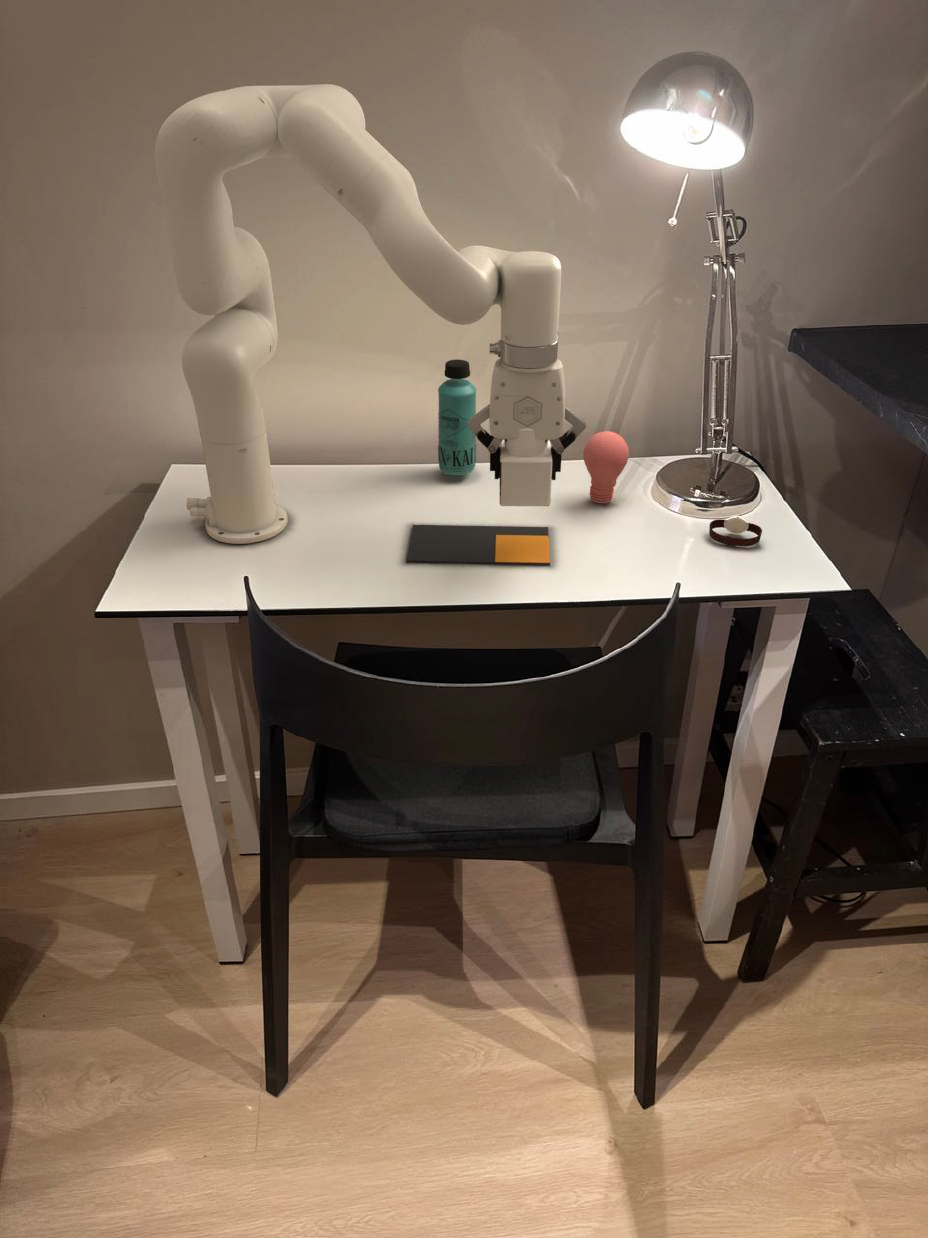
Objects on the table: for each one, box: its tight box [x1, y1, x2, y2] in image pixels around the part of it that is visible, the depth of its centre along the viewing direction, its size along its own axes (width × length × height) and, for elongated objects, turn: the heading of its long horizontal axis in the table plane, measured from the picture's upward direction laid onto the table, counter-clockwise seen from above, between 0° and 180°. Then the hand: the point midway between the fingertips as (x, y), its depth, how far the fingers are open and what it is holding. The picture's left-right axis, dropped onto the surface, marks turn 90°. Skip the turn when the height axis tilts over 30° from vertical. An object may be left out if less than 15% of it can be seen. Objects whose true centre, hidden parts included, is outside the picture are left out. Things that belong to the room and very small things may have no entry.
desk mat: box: [405, 524, 551, 566], centre depth 144 cm, size 21×11×1 cm, turn 87°
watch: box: [708, 515, 763, 548], centre depth 144 cm, size 8×5×4 cm, turn 72°
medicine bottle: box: [499, 428, 553, 507], centre depth 134 cm, size 7×7×12 cm
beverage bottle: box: [437, 358, 477, 476], centre depth 158 cm, size 6×7×20 cm
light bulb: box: [582, 430, 630, 504], centre depth 152 cm, size 7×7×12 cm
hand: (524, 474), depth 135 cm, fingers closed on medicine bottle, 7 cm apart
